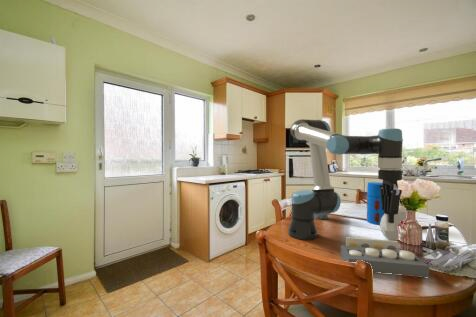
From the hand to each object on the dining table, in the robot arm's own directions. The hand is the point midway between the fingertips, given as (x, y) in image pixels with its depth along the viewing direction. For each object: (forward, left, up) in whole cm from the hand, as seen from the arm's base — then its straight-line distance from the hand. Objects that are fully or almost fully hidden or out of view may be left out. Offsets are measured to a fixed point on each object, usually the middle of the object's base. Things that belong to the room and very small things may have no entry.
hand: (389, 230), depth 84 cm
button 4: (+6, 0, -11) cm, 13 cm away
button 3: (0, 0, -11) cm, 11 cm away
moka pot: (-15, +63, -15) cm, 67 cm away
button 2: (-6, 0, -11) cm, 13 cm away
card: (-3, +9, -14) cm, 17 cm away
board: (-3, 0, -14) cm, 15 cm away
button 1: (-12, 0, -13) cm, 17 cm away
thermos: (+18, +59, -15) cm, 64 cm away
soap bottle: (+18, +32, -15) cm, 40 cm away
